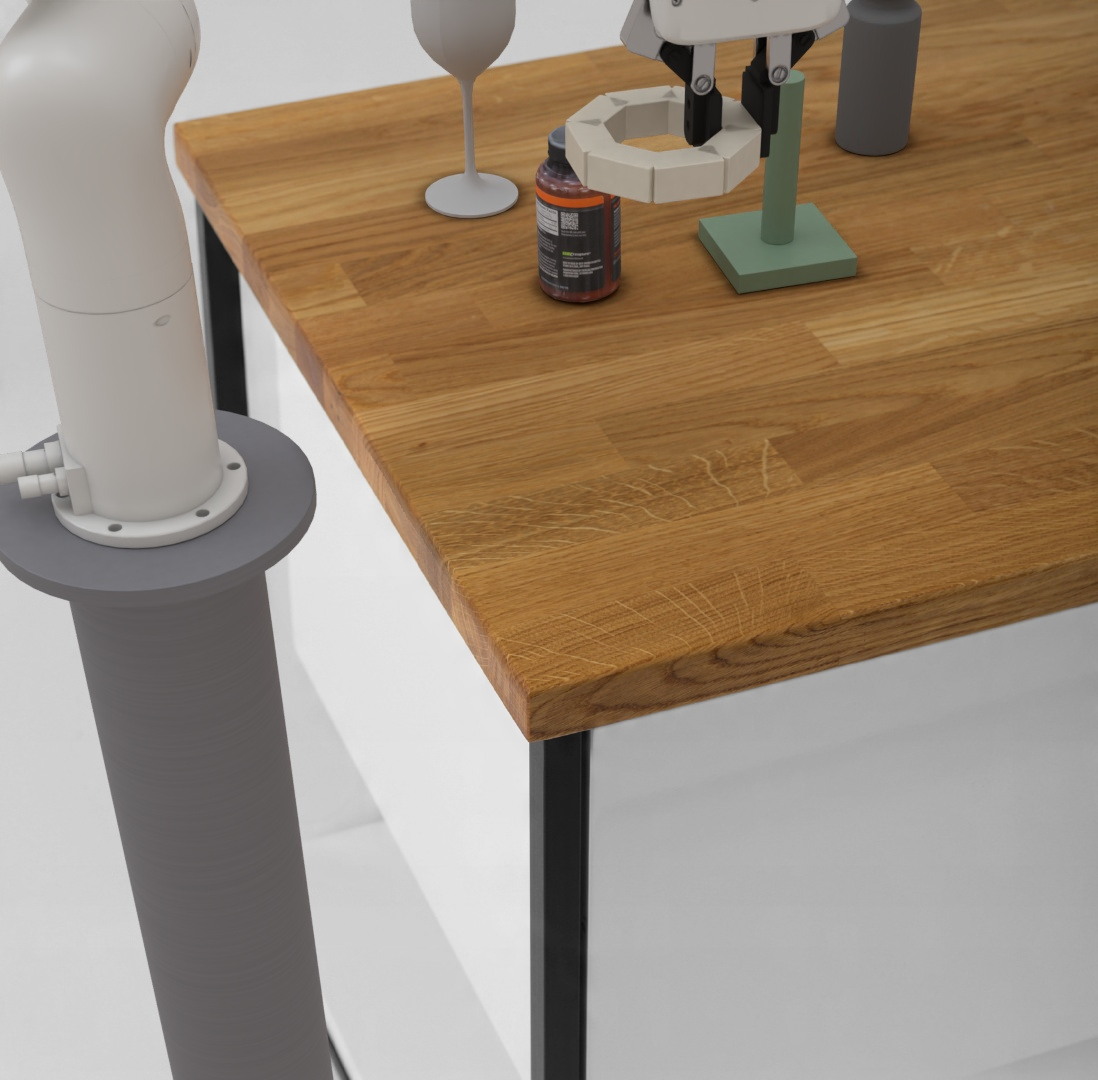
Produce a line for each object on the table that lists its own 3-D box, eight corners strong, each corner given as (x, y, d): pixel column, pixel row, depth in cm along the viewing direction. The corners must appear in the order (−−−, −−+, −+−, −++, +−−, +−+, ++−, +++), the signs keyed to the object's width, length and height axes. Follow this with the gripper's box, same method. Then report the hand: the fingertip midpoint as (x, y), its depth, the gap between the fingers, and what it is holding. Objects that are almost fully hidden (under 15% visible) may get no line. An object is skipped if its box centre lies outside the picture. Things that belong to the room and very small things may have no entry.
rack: (738, 293, 146) (748, 110, 137) (697, 237, 152) (704, 58, 143) (856, 275, 148) (873, 93, 138) (811, 220, 154) (825, 42, 145)
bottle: (910, 127, 165) (931, -64, 155) (904, 159, 161) (926, -35, 151) (838, 121, 166) (854, -68, 156) (830, 153, 162) (846, -40, 152)
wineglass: (536, 184, 159) (530, -97, 145) (494, 226, 154) (484, -60, 140) (449, 167, 161) (435, -110, 147) (405, 208, 156) (386, -75, 142)
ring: (598, 212, 108) (598, 176, 106) (551, 133, 115) (550, 99, 114) (778, 188, 109) (780, 152, 108) (720, 112, 117) (722, 77, 115)
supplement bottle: (605, 260, 150) (605, 110, 142) (632, 298, 146) (634, 146, 138) (527, 273, 149) (523, 123, 141) (552, 312, 144) (549, 159, 137)
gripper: (609, -168, 96) (608, 199, 109) (927, -201, 99) (890, 161, 112) (568, -215, 102) (572, 140, 114) (871, -245, 104) (842, 105, 117)
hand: (729, 148), depth 113 cm, fingers closed on ring, 2 cm apart
